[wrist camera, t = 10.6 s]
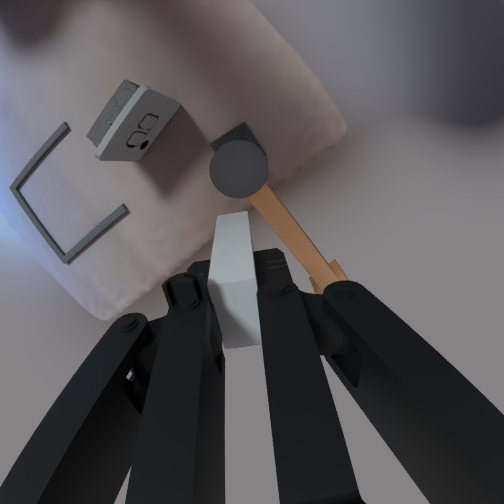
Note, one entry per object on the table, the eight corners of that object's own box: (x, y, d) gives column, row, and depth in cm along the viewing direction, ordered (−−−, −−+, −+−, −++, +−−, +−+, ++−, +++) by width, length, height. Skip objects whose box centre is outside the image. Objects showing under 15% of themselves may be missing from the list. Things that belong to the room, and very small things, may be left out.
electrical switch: (139, 161, 37) (108, 170, 29) (112, 139, 36) (76, 143, 28) (183, 104, 35) (160, 96, 26) (154, 83, 34) (125, 70, 25)
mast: (210, 143, 37) (196, 158, 24) (244, 122, 36) (247, 124, 23) (232, 175, 39) (230, 205, 26) (265, 154, 38) (280, 174, 25)
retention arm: (202, 160, 26) (197, 166, 22) (242, 128, 25) (243, 129, 21) (312, 291, 32) (320, 310, 28) (347, 266, 31) (358, 284, 27)
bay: (11, 186, 37) (9, 187, 36) (65, 122, 34) (63, 122, 33) (65, 262, 43) (64, 264, 42) (127, 209, 40) (126, 210, 39)
